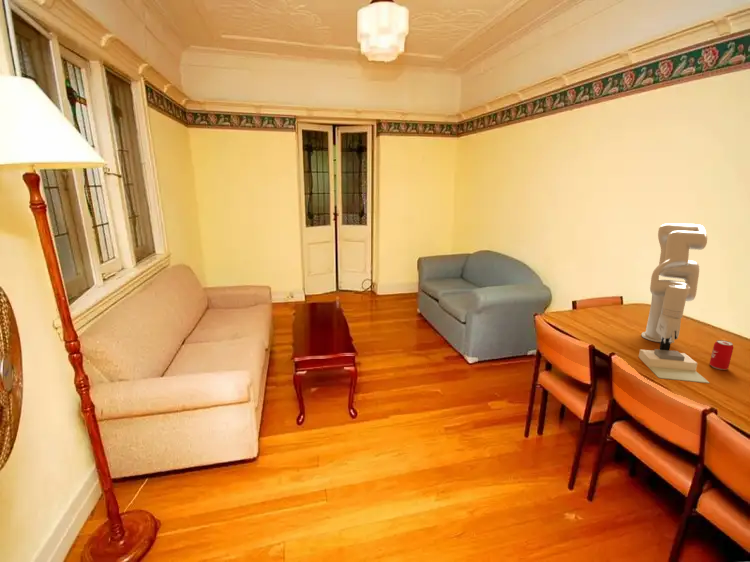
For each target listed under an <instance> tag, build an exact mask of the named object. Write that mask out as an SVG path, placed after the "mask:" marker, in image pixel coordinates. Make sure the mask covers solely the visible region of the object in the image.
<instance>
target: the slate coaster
mask: <svg viewBox="0 0 750 562" xmlns="http://www.w3.org/2000/svg"><path fill="white" fill-rule="evenodd" d="M653 351H654V354H655V355H657V356H658V357H659V358H660V359H668V360H678V361H684V358H685V357H684V356H683V355H682V354H681V353H682V352H679V351H678V350H670V349H669V350H660V349H658V348H654V350H653Z"/></svg>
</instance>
